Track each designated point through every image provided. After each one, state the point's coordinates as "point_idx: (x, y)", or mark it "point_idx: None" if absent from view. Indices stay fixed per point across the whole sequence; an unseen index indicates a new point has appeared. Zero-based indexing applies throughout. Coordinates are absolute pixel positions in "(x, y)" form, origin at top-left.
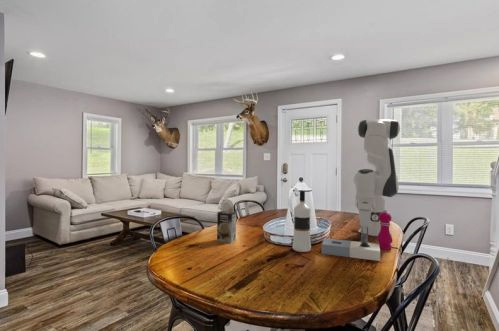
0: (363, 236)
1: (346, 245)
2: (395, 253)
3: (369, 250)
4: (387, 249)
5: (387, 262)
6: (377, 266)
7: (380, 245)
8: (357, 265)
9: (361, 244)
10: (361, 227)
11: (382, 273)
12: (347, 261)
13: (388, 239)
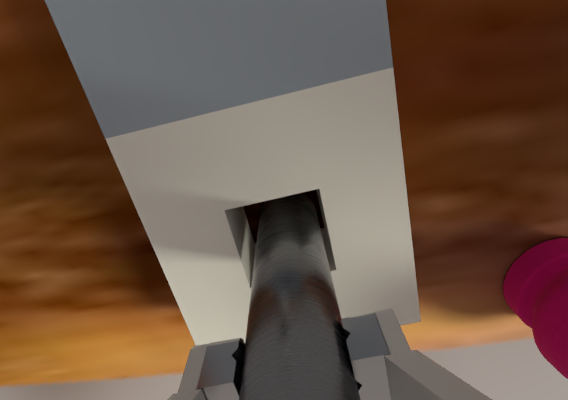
0: (251, 298)
1: (156, 81)
2: (443, 348)
3: (177, 297)
4: (507, 303)
5: None
6: (101, 316)
7: (534, 275)
8: (9, 220)
9: (268, 220)
10: (271, 368)
11: (9, 355)
12: (26, 136)
13: (562, 372)
